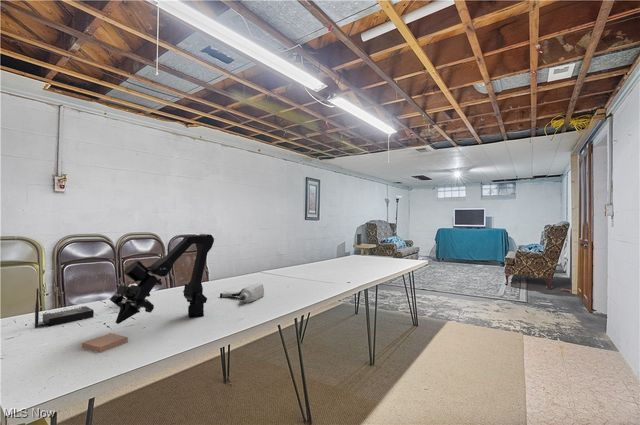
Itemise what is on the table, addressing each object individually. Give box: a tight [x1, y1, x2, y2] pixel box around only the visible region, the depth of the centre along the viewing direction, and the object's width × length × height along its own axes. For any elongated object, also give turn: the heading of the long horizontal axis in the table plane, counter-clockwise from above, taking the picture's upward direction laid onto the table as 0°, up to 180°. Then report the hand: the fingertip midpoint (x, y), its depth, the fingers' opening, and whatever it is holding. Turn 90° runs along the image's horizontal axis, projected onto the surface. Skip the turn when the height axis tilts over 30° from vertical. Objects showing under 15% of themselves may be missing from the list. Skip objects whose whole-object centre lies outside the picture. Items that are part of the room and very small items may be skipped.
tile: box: [81, 332, 129, 353], centre depth 111 cm, size 2×10×10 cm
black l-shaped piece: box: [34, 288, 95, 329], centre depth 138 cm, size 20×14×17 cm
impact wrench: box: [219, 283, 265, 304], centre depth 176 cm, size 8×23×25 cm
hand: (116, 323), depth 115 cm, fingers closed
